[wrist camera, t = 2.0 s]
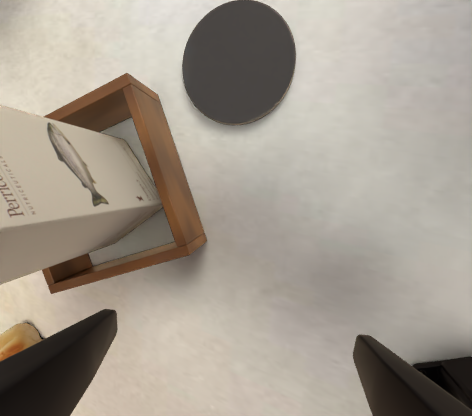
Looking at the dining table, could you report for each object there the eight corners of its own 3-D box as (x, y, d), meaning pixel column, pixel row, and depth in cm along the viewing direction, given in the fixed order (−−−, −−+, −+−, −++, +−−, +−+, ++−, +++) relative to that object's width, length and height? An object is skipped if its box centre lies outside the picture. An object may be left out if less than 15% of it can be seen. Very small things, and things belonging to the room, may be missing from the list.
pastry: (80, 376, 25) (44, 411, 21) (49, 405, 26) (11, 442, 23) (26, 314, 25) (-18, 337, 22) (0, 346, 27) (-46, 372, 23)
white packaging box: (170, 203, 20) (1, 236, 8) (115, 244, 22) (-96, 323, 10) (126, 136, 20) (-107, 68, 8) (74, 182, 22) (-184, 182, 10)
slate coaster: (310, 99, 17) (311, 96, 16) (205, 141, 19) (202, 140, 18) (274, -18, 17) (274, -25, 16) (170, 38, 19) (167, 33, 18)
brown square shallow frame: (207, 240, 20) (189, 255, 16) (89, 275, 23) (50, 294, 19) (157, 94, 19) (127, 72, 16) (43, 149, 22) (-7, 142, 19)
